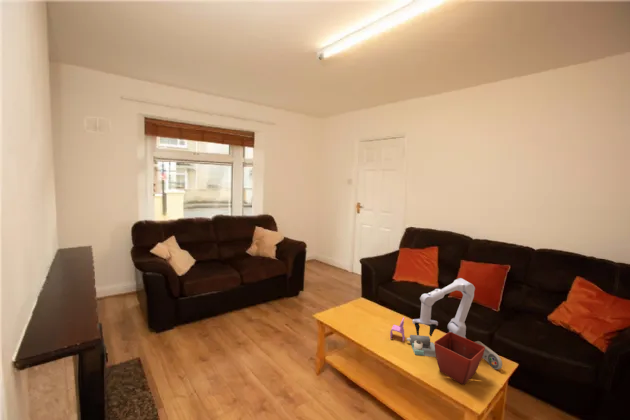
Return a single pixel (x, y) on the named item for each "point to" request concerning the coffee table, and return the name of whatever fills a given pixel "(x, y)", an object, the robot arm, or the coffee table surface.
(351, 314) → the coffee table surface
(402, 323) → the toy chair
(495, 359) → the game controller
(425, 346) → the motor assembly
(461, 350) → the plant pot
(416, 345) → the cream canister
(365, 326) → the coffee table surface
